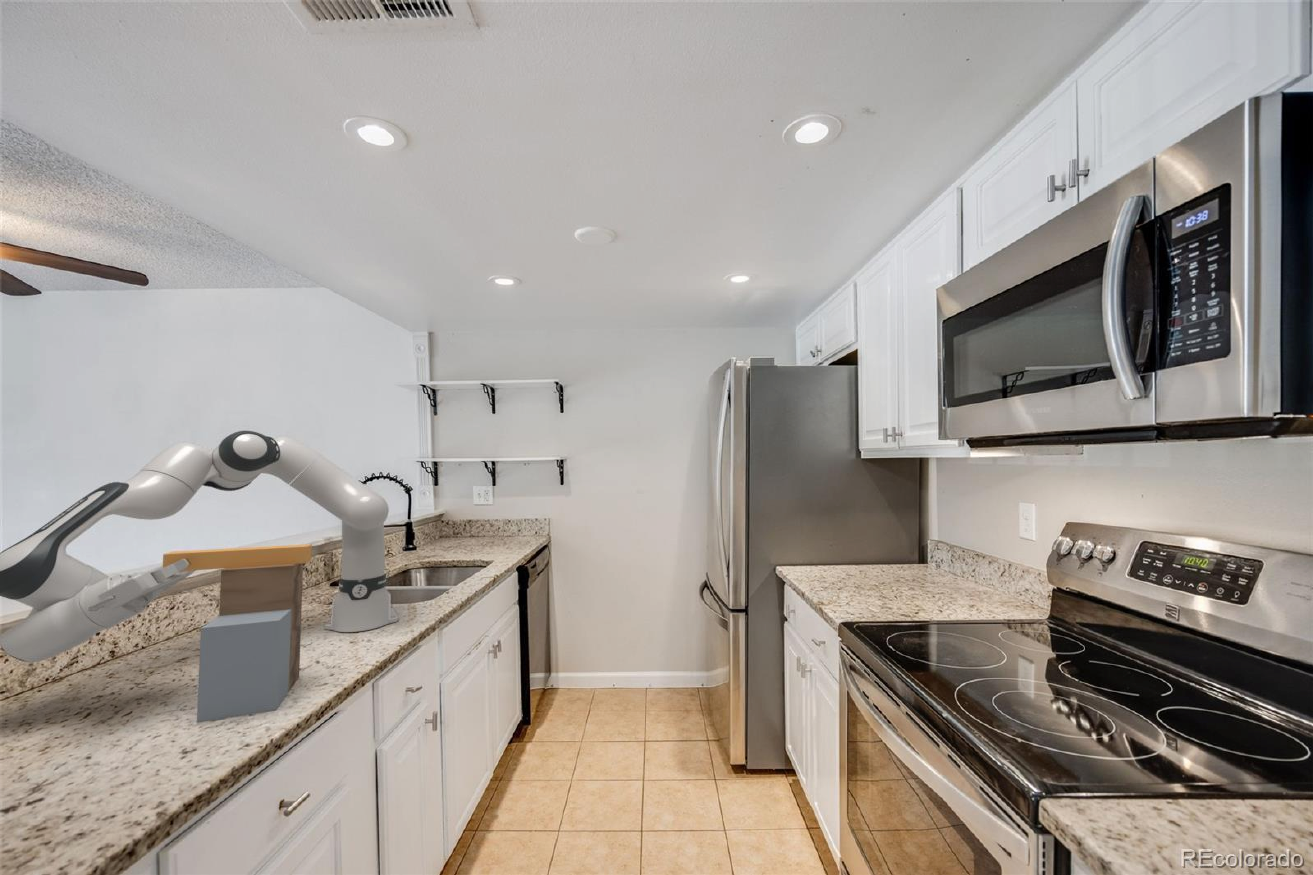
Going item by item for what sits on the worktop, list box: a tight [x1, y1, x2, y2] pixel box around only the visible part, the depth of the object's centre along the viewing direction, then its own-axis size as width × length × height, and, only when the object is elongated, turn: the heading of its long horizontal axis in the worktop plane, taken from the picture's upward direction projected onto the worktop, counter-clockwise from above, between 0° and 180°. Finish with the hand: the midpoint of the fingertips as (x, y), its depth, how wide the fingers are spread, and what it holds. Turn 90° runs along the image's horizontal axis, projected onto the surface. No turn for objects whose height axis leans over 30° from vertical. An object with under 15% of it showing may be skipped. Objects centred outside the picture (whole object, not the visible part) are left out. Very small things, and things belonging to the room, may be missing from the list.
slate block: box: [196, 609, 291, 723], centre depth 98 cm, size 8×12×17 cm, turn 112°
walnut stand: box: [218, 563, 304, 693], centre depth 106 cm, size 8×12×26 cm, turn 112°
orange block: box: [162, 543, 313, 571], centre depth 105 cm, size 4×24×4 cm, turn 112°
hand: (197, 557), depth 103 cm, fingers open, 7 cm apart
